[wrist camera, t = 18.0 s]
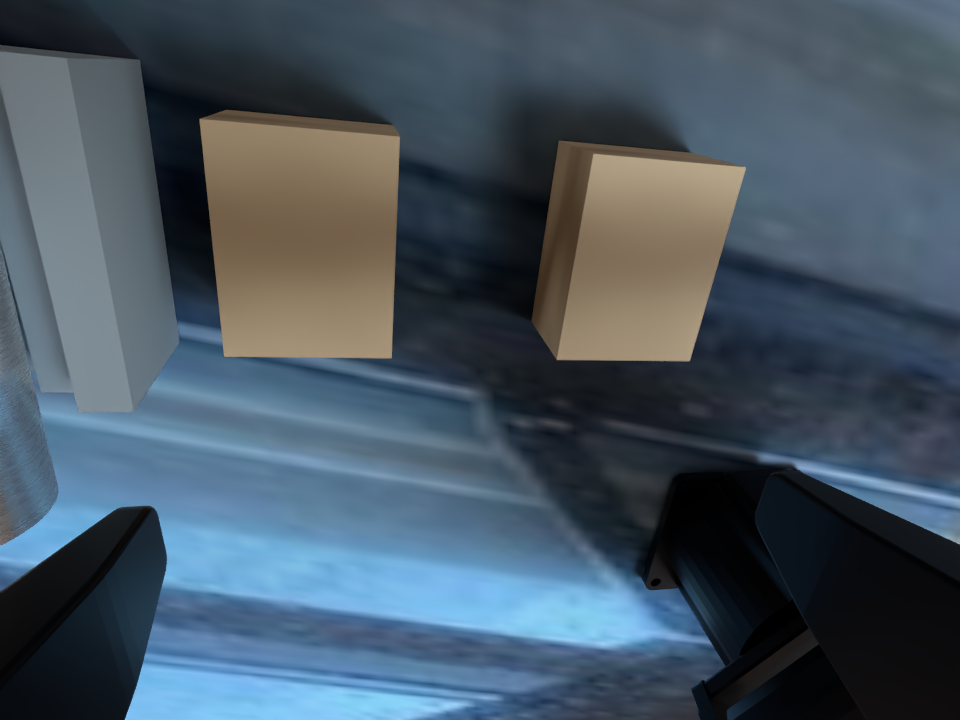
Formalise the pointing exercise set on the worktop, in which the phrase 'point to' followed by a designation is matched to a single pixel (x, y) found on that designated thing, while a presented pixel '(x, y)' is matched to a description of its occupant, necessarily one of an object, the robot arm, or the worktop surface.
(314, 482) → the worktop surface
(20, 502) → the light grey bar
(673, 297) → the beam
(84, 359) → the v block
